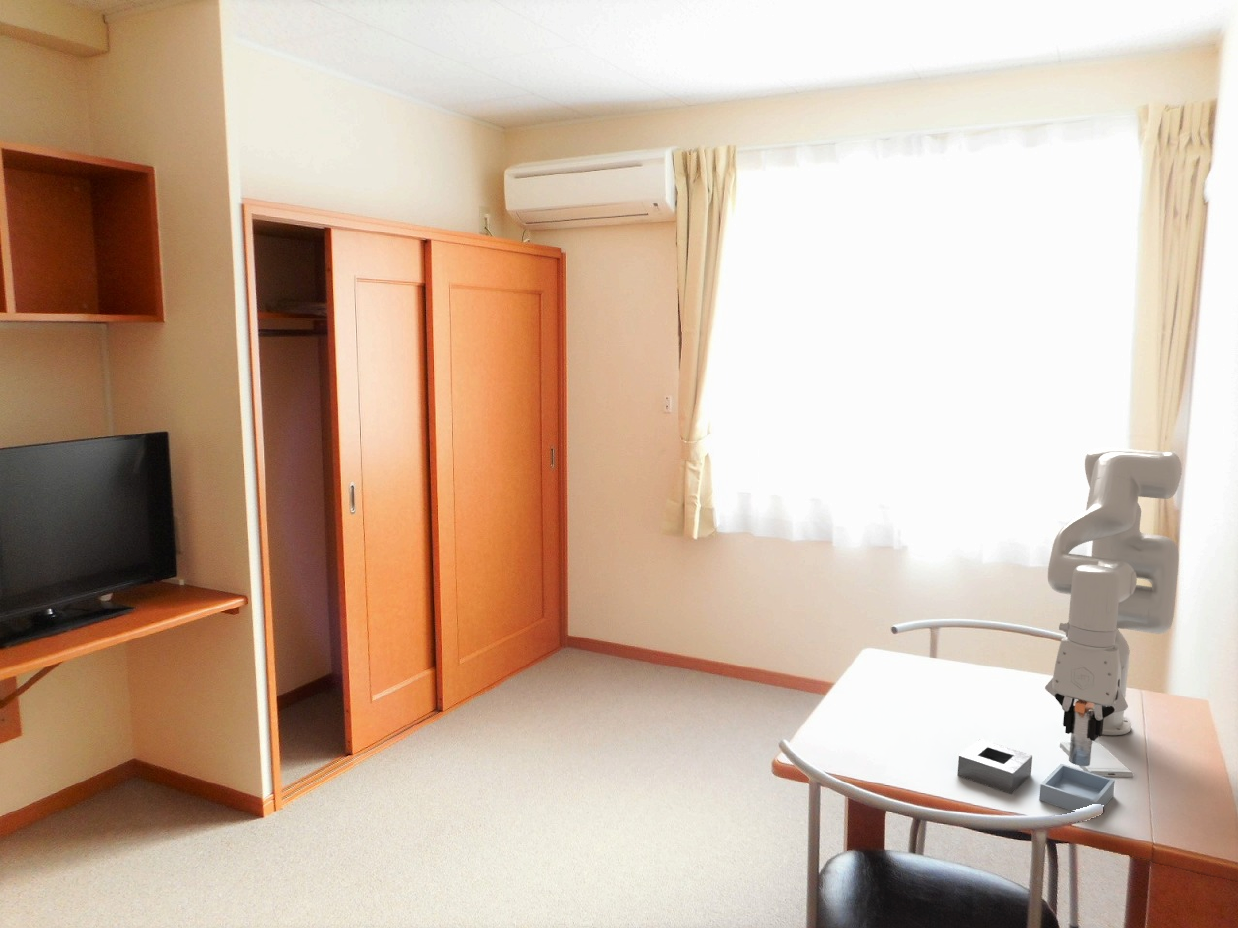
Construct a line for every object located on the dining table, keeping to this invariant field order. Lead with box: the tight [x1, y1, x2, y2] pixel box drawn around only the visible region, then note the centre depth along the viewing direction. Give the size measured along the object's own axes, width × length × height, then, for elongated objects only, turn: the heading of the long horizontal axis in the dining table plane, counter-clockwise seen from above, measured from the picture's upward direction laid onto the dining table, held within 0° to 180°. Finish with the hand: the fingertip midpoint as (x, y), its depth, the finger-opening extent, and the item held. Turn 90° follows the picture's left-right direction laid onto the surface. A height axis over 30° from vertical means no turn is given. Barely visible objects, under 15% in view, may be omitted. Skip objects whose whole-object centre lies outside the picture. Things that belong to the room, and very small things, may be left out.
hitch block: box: [957, 738, 1033, 795], centre depth 172 cm, size 10×10×4 cm
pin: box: [1068, 700, 1095, 767], centre depth 162 cm, size 3×5×12 cm
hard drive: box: [1059, 741, 1134, 778], centre depth 178 cm, size 2×8×12 cm
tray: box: [1038, 763, 1115, 812], centre depth 164 cm, size 11×9×3 cm
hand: (1082, 733), depth 162 cm, fingers closed on pin, 3 cm apart
